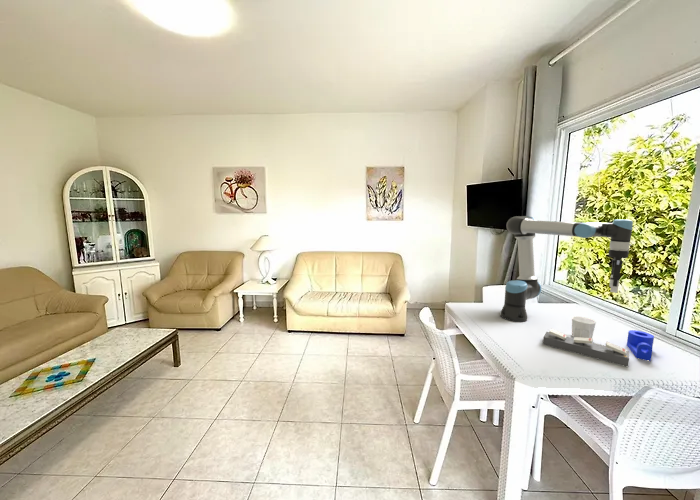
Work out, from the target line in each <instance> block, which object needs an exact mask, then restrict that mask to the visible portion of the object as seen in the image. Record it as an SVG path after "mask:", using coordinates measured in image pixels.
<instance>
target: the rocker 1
mask: <svg viewBox="0 0 700 500" xmlns="http://www.w3.org/2000/svg"><path fill="white" fill-rule="evenodd" d="M548 332H549V333H550V334H552V335H554V336H557V337H559V338H561V339H564V340H565V339H566V336H567V334H565V333H563V332H560V331H558V330H555V329H553V328H550V330H549V331H548ZM567 337H568V336H567Z"/></svg>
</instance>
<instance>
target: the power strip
mask: <svg viewBox="0 0 700 500" xmlns="http://www.w3.org/2000/svg"><path fill="white" fill-rule="evenodd" d="M549 332H550V331H546V332H545V334H544V336H543V338H542V345H543V346H548V347H552V348H555V349H559V350H562V351H567V352H571V353H574V354H577V355H582V356H586V357H588V358H593V359H597V360H601V361H604V362H607V363H610V364H611V363H612V364H615V365H619V366H622V365H624V366H623V367H626V366H628V367H629V364H630V363H629V361H630V352H629V351H628V350H626V354H625V355H624V354H622V353H619V352H617V351H614V350H612V349H609V348H607V347H605V346H606V344H604V345H603V344H601V343H600V344H599V343H595V342H593V343H592V344H590V343H576V342H574V337H572V336H566V339H565V340H564V339H561V338H559V337H557V336H554V335H552V334H550V333H549Z"/></svg>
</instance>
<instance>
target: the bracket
mask: <svg viewBox="0 0 700 500" xmlns="http://www.w3.org/2000/svg"><path fill="white" fill-rule="evenodd" d="M627 334H628V335H627V340H626V346H627V348H628V349H629V350H630V352H631V353H632V355H634V356H635V357H634V358H636V359H638V358H639V360H643V359H644V360H643V361H647V360H649V361H648V362H651V361H652V355H653V344H654V340H655V339H654V338H655V336H654V335H653V334H651V333H648V332H645V331H642V330H633V329H632V330H631V329H630V330H628V332H627Z"/></svg>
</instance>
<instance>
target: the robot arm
mask: <svg viewBox="0 0 700 500" xmlns="http://www.w3.org/2000/svg"><path fill="white" fill-rule="evenodd" d="M633 223H634V221H633V220H632V219H613V220H612V222H596V221H587V222H574V221H552V220H551V221H549V220H537V219H536V218H535V217H532V216H529V215H521V216H520V215H518V216H517V215H516V216H513V217H510V218H509V219H508V220H507V222H506V230H507V231H508V233H510V234H512V235H514V238H515V239H516V240H517V249H518V251H517V255H518V258H517V259H518V272H519V273H518V275H519V276H518V277H517V278H516V279H515V280H509V281H507V282H506V284H505V290H504V291H505V292H504V303H503V304H504V305H502V308H501V310H500V317H501V318H503V319H504V320H508V321H510V322H519V323H521V322H526V321H528V313H527V309H526V301H528V300H531V299H535V298H537V297H539V295H540V294H541V293H542V285H541V283H540V282H539V281H538V277H536V275H535V258H534V257H535V255H534V239H535V238H536V234H538V235H539V234H540V235H551V236H552V235H553V236H565V237H577V238H580V239H581V238H583V239H588V238H594V237H595V238H596V237H597V238H598V237H600V238H610V242H609V250H608V257H609V258H610V257H611V258H613V259H612V260H611V270H610V274H611V275H610V278H609V286H608V287H610V291H609V292H610V293H614V294H615V293H616V294H617V293H618V290H619V284H620V279H621V278H620V277H621V270H622V267H623V266H622V265H624V264H623V260H622V259H628V257H629V253H630V252H629V250H630V247H631V246H632V243H631V240H632V239H631V238H632V233H633Z"/></svg>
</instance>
